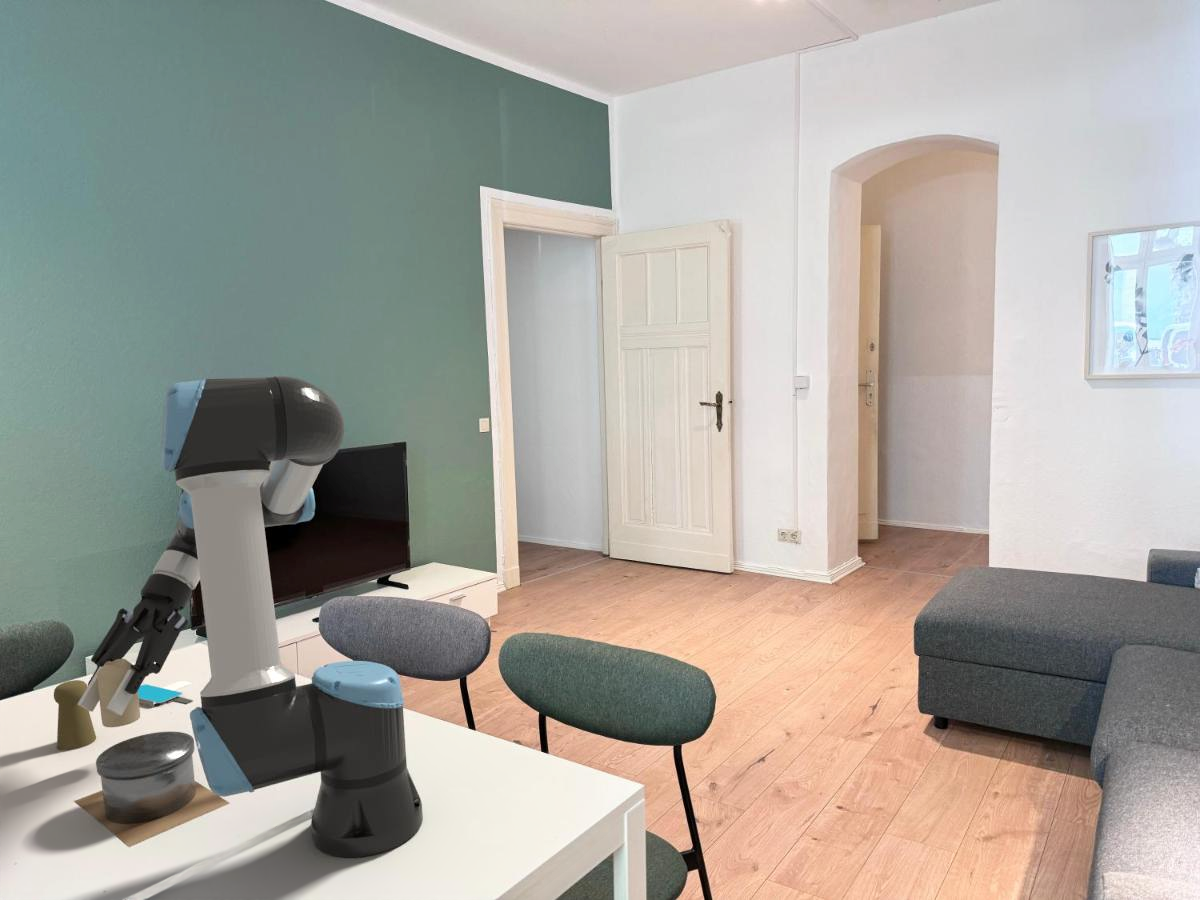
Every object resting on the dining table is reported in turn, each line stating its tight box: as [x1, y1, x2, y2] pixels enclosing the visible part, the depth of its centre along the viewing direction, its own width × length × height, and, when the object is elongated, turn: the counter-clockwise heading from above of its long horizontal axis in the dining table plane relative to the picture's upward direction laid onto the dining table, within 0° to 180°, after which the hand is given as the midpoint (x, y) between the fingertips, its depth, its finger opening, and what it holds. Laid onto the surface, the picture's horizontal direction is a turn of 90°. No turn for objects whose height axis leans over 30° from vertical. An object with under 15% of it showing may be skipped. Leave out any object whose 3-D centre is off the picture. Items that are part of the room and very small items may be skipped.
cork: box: [53, 679, 97, 751], centre depth 152 cm, size 6×6×11 cm
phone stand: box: [138, 680, 194, 708], centre depth 174 cm, size 20×12×2 cm, turn 62°
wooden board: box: [73, 780, 230, 848], centre depth 128 cm, size 20×14×2 cm
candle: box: [97, 658, 141, 728], centre depth 140 cm, size 6×6×10 cm
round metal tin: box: [95, 731, 196, 824], centre depth 128 cm, size 13×13×8 cm
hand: (99, 709), depth 137 cm, fingers closed on candle, 5 cm apart
